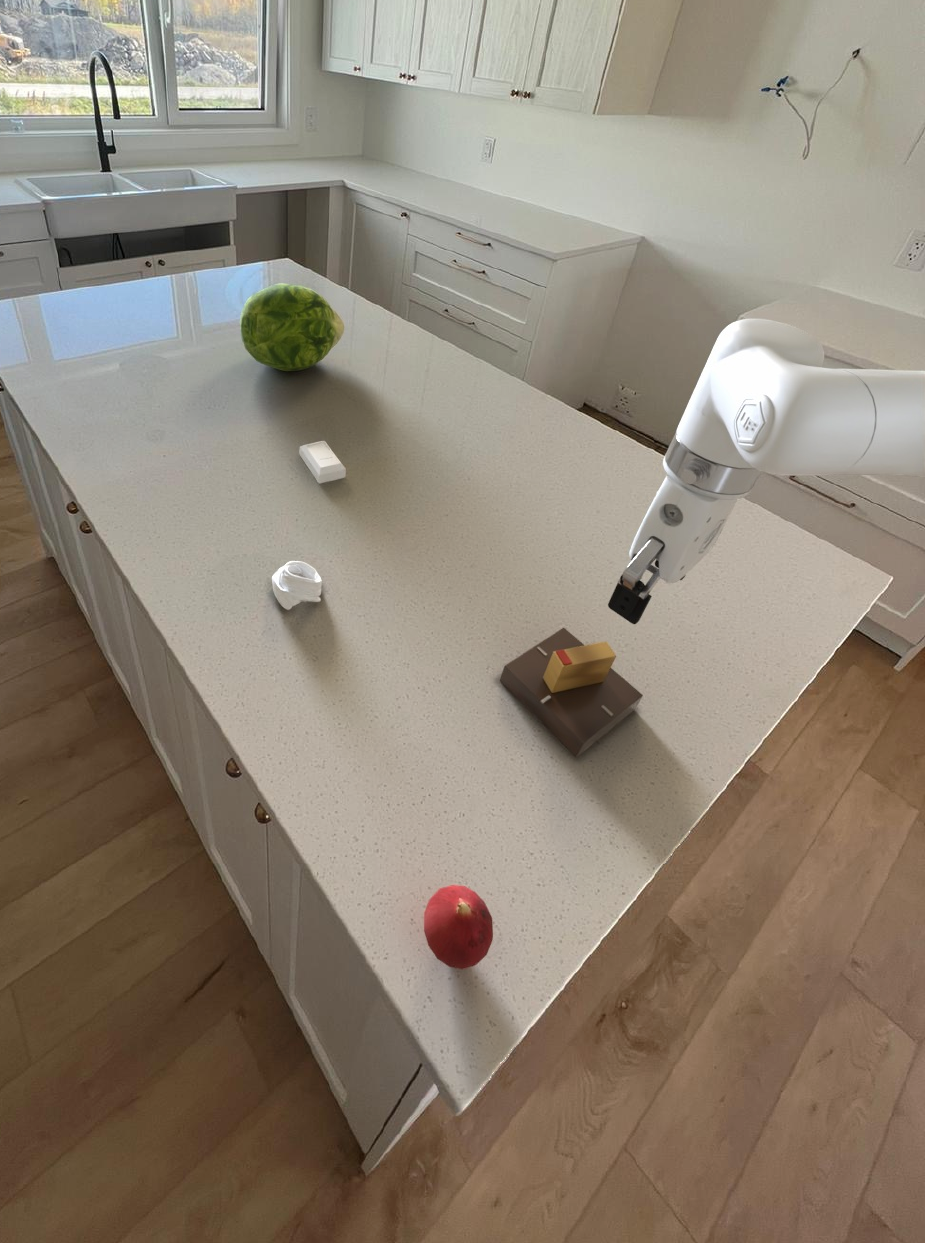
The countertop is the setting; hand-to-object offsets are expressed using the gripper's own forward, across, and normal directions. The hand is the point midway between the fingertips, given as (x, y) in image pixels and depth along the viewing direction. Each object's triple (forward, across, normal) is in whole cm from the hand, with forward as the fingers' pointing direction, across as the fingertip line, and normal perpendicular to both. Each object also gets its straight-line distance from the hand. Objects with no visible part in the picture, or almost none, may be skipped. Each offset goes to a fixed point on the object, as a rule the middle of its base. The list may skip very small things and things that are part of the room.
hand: (646, 592), depth 67 cm
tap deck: (+18, -3, +2) cm, 18 cm away
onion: (+18, -33, -6) cm, 38 cm away
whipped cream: (+18, -19, +36) cm, 45 cm away
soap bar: (+18, +3, +57) cm, 60 cm away
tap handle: (+15, -3, +2) cm, 16 cm away
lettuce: (+18, +22, +92) cm, 96 cm away
